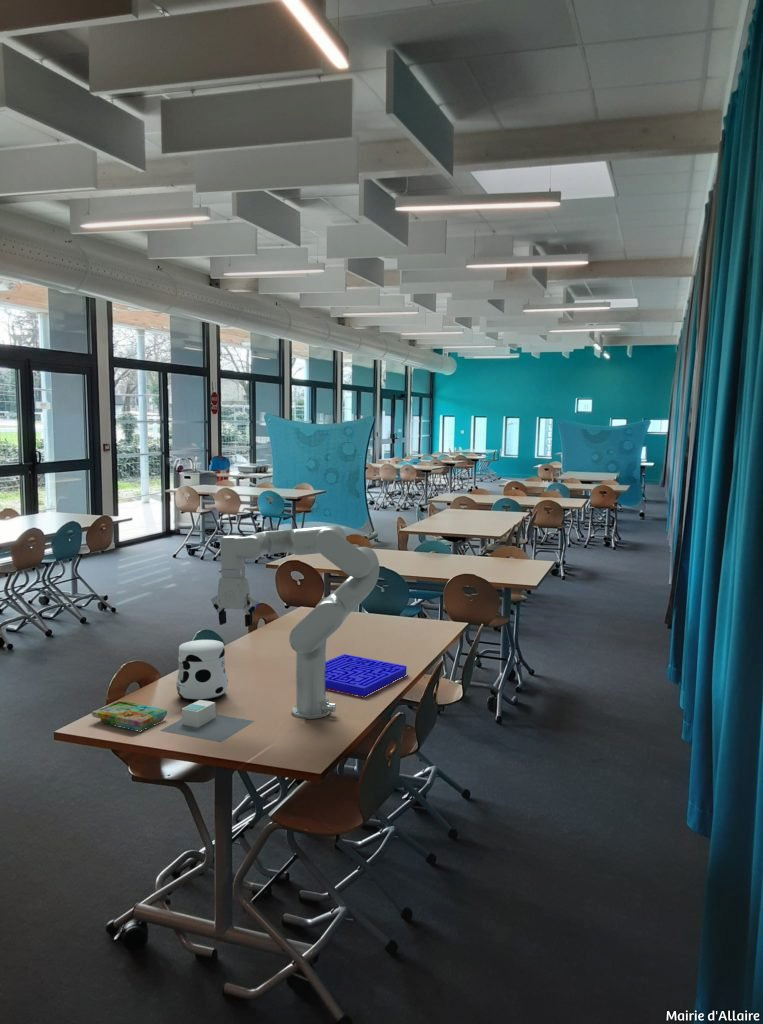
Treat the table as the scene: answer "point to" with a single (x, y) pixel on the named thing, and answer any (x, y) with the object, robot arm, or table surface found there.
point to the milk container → (201, 670)
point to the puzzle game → (130, 715)
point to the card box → (198, 713)
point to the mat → (210, 728)
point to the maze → (360, 674)
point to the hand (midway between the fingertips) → (235, 624)
